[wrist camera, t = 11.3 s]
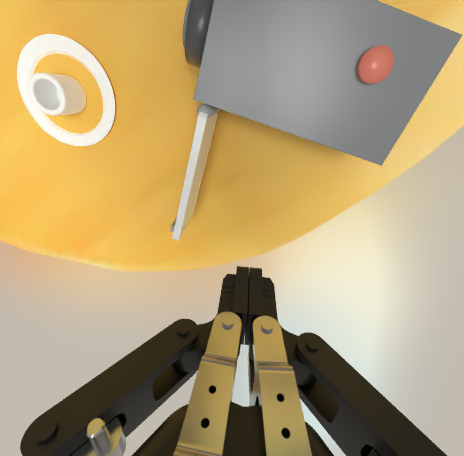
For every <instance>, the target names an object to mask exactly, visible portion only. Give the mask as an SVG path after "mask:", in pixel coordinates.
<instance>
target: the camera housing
mask: <svg viewBox="0 0 464 456" xmlns="http://www.w3.org/2000/svg"><path fill="white" fill-rule="evenodd" d="M461 36H462V35H461V34H459V33H456V32H454V31H451V30H449V29H446V28H444V27H441V26H439V25H436V24H434V23H431V22H429V21H426V20H424V19H421V18H419V17H417V16H414V15H412V14H409V13H407V12H404V11H402V10H399V9H397V8H394V7H392V6H389V5H387V4H384V3H382V2H379V1H377V0H189V2H188V5H187V8H186V13H185V18H184V26H183V44H184V48H185V57H186V61H187V63H188V64H191V65H193V66H196V67H199V68H200V71H199V76H198V81H197V86H196V91H195V95H194V100H196V101H199V102H202V103H205V104H208V105H210V106H213V107H216V108H219V109H222V110H225V111H228V112H230V113H233V114H236V115H239V116H242V117H245V118H248V119H250V120H253V121H256V122H259V123H262V124H265V125H267V126H270V127H273V128H276V129H279V130H282V131H285V132H287V133H290V134H293V135H296V136H299V137H302V138H305V139H307V140H310V141H313V142H316V143H319V144H322V145H325V146H327V147H330V148H333V149H336V150H339V151H342V152H345V153H347V154H350V155H353V156H356V157H359V158H362V159H365V160H367V161H370V162H373V163H376V164H379V165H382V164H383V162H384V161H385V159H386V158H387V156H388V154H389V153H390V151H391V149H392V148H393V146H394V145H395V143H396V141H397V140H398V138H399V137H400V135H401V133H402V132H403V130H404V128H405V127H406V125H407V124H408V122H409V120H410V119H411V117H412V116H413V114H414V112H415V111H416V109H417V107H418V106H419V104H420V103H421V101H422V99H423V98H424V96H425V95H426V93H427V91H428V90H429V88H430V86H431V85H432V83H433V82H434V80H435V78H436V77H437V75H438V74H439V72H440V70H441V69H442V67H443V66H444V64H445V62H446V61H447V59H448V57H449V56H450V54H451V53H452V51H453V49H454V48H455V46H456V45H457V43H458V41H459V40H460V38H461Z"/></svg>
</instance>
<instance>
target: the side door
mask: <svg viewBox="0 0 464 456" xmlns="http://www.w3.org/2000/svg"><path fill="white" fill-rule="evenodd" d="M220 111H221V109H219V108H216V107H213V106H210V105H208V104H202V105H200V106H199V107H198V109H197V113H198V120H197V124H196V129H195V134H194V139H193V143H192V148H191V153H190V157H189V162H188V167H187V172H186V176H185V181H184V186H183V190H182V195H181V200H180V205H179V209H178V214H177V217H176V219H175V221H174V222H173V224H172V225H171V230H170V231H173V232H174V233H173V238H172V239H176V240H179V239H180V237H181V235H182V234H183V232H184V230H185V228H186V226H187V224H188V222H189V220H190V218H191V216H192V215H193V213H194V209H195V205H196V201H197V197H198V193H199V189H200V185H201V181H202V177H203V173H204V169H205V165H206V161H207V157H208V153H209V149H210V145H211V141H212V137H213V133H214V129H215V125H216V121H217V117H218V113H219V112H220Z"/></svg>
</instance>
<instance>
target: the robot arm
mask: <svg viewBox="0 0 464 456" xmlns="http://www.w3.org/2000/svg"><path fill="white" fill-rule="evenodd" d="M244 336H245V345H249V354H248V375H249V394H250V404H249V407H243V406H240V405H238V404H235V403H233V402H232V394H233V387H234V380H235V372H236V366H237V359H238V356H239V353H240V345H241V344H243V343H244ZM197 370H198V373H197V376H196V380H195V383H194V387H193V390H192V394H191V398H190V401H189V404H188V405H185V406H183V407H181V408H179V409H178V410H176V411H175V412H174V413H173V414H171V415H170V416H169V417H168V418H167V419H166V420H165V421H164V422H163V423H162V425H161V426H160V427H159V428H158V429H157V430H156V431H155V432H154V433H153V434H152V435H151V436H150V437H149V438H148V439H147V440H146V441H145V442H144V443H143V444H142V445H141V446H140V448H139V449H138V450H137V451H136V452H135V453H134V454H133V455H132V456H334V455H333V454H332V452H331V451H330V450H329V448H328V447H327V446H326V444H325V443H324V441H323V440H322V439H321V437H320V436H319V435H318V433H317V432H316V431H315V430H314V429H313V428H312V427H311V426H310V425H309V424H308V423H307V422H305V421H304V416H303V412H302V407H301V402H300V399H301V400H302V401H303V402H304V404H305V405H306V406H307V407H308V408H309V410H310V411H311V412H312V414H313V415H314V416H315V417H316V418H317V420H318V421H319V422H320V424H321V425H322V426H323V427H324V429H325V430H326V431H327V432H328V434H329V435H330V436H331V437H332V439H333V440H334V441H335V442H336V444H337V445H338V446H339V447H340V448H341V450H342V451H343V452H344V453H345V455H346V456H447V455H446V454H445V453H444V452H443V451H442V450H440V449H439V448H438V447H437V446H436V445H435V444H434V443H433V442H432V441H431V440H430V439H429V438H428V437H427V436H426V435H424V434H423V433H422V432H421V431H420V430H419V429H418V428H417V427H416V426H415V425H414V424H413V423H412V422H411V421H409V420H408V419H407V418H406V417H405V416H404V415H403V414H402V413H401V412H400V411H399V410H398V409H397V408H396V407H395V406H393V405H392V404H391V403H390V402H389V401H388V400H387V399H386V398H385V397H384V396H383V395H382V394H381V393H379V392H378V391H377V390H376V389H375V388H374V387H373V386H372V385H371V384H370V383H369V382H368V381H367V380H366V379H365V378H364V377H362V376H361V375H360V374H359V373H358V372H357V371H356V370H355V369H354V368H353V367H352V366H351V365H349V364H348V363H347V362H346V361H345V360H344V359H343V358H342V357H341V356H340V355H339V354H338V353H337V352H336V351H335V350H334V349H333V348H331V347H330V346H329V345H328V344H327V343H326V342H325V341H324V340H323V339H322V338H321V337H319V336H318V335H316V334H313V333H303V334H301V335H300V336H297V335H294V334H292V333H290V332H288V331H286V330H284V329H283V328H282V327H281V325H280V324H279V322H278V319H277V310H276V301H275V291H274V284H273V282H272V281H271V279H270V278H265V277H262V269H260V268H251V267H250V269H249V267H240V266H237V273H236V275H234V274H227V275H226V277H225V278H224V279H223V284H222V290H221V296H220V302H219V308H218V313H217V315H216V317H215V318H214V319H213V320H212V321H210V322H208V323H205V324H200V325H197V324H196V323H195V322H194V321H192V320H190V319H180V320H177V321H176V322H174V323H173V324H171V325H170V326H168V327H167V328H165V329H164V330H163V331H161V332H160V333H158V334H157V335H155V336H154V337H152V338H151V339H150V340H148V341H147V342H145V343H144V344H142V345H141V346H140V347H138V348H137V349H135V350H134V351H132V352H131V353H130V354H128V355H127V356H125V357H124V358H122V359H121V360H119V361H118V362H117V363H115V364H114V365H112V366H111V367H109V368H108V369H107V370H105V371H104V372H102V373H101V374H100V375H98V376H96V377H95V378H94V379H92V380H91V381H89V382H88V383H87V384H85V385H84V386H82V387H81V388H79V389H78V390H76V391H75V392H74V393H72V394H71V395H70V396H68V397H66V398H65V399H63V400H62V401H61V402H59V403H58V404H56V405H55V406H53V407H52V408H51V409H49V410H48V411H46V412H45V413H44V414H42V415H41V416H39V417H38V418H37V419H36V420H35V421H34V422H33V423H32V424H31V425H30V426H29V427H28V429H27V430H26V432H25V434H24V436H23V438H22V441H21V447H20V449H21V453H22V455H23V456H123V454H124V451H125V448H126V439H125V438H126V437H127V436H128V435H129V434H130V433H131V432H132V431H133V430H135V429H136V428H137V427H138V426H139V425H140V424H141V423H142V422H143V421H144V420H145V419H147V417H149V416H150V415H151V414H152V413H153V412H154V411H155V410H156V409H157V408H158V407H159V406H161V405H162V404H163V403H164V402H165V401H166V400H167V399H168V398H169V397H170V396H171V395H172V394H174V393H175V392H176V391H177V390H178V389H179V388H180V387H181V386H182V385H183V384H184V383H185V382H186V381H188V380H189V378H191V377H192V376H193V375H194V374H195V373H196V371H197Z"/></svg>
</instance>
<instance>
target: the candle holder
mask: <svg viewBox="0 0 464 456" xmlns="http://www.w3.org/2000/svg"><path fill="white" fill-rule="evenodd" d="M54 53H59V54H65V55H68V56H71V57H73V58H75V59H76V60H78V61H79V62H81V63H82V64H83V65H84V66H85V67H86V68H87V69H88V70H89V71H90V72H91V74H92V75H93V76H94V78H95V80H96V81H97V83H98V85H99V88H100V90H101V94H102V98H103V114H102V118H101V120H100V122H99V124H98V125H97V126H96V127H95V128H94V129H93V130H91V131H90V132H87V133H83V134H76V133H71V132H68V131H65V130H63V129H61V128H60V127H58V126H57V125H55V124H54V123H53V122H52V121H51V120H50V119H49V118H48V117H47V116H46V115H45V113H46V114H49V115H54V116H56V115H67V114H76V113H79V112H81V111H82V110H83V109H84V108H85V106H86V94H85V91H84V89H83V87H82V86H81V84H80V83H79V82H78V81H77V80H75V79H74V78H72V77H70V76H67V75H60V74H50V73H36V74H34V75H33V73H34V70H35V67H36V65H37V63H38V62H39V61H40V60H41V59H42V58H43V57H45V56H47V55H49V54H54ZM17 80H18V86H19V90H20V93H21V96H22V99H23V101H24V103H25V105H26V107H27V109H28V111H29V112H30V114H31V115H32V117H33V118H34V119H35V120H36V122H37V123H38V124H39V125H40V126H41V128H42V129H43V130H44V131H45V132H47V133H48V134H50V135H51V136H53V137H54V138H56V139H57V140H58V141H60V142H63V143H67V144H70V145H75V146H89V145H93V144H95V143H97V142H99V141H101V140H102V139H103V138H104V137H105V136H106V135H107V134H108V132H109V131H110V129H111V127H112V124H113V121H114V117H115V99H114V93H113V90H112V86H111V84H110V81H109V79H108V77H107V75H106V73H105V71H104V69H103V68H102V66H101V65H100V63H99V62H98V61H97V59H96V58H95V57H94V56H93V55H92V54H91V53H90V52H89V51H88V50H87V49H86V48H84V47H83V46H82V45H80V44H79V43H77V42H76V41H74V40H72V39H70V38H68V37H65V36H62V35H57V34H44V35H40V36H37V37H35V38H33V39H32V40H31V41H29V42H28V43H27V44H26V45H25V47H24V48H23V50H22V52H21V54H20V56H19V60H18V65H17Z"/></svg>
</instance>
